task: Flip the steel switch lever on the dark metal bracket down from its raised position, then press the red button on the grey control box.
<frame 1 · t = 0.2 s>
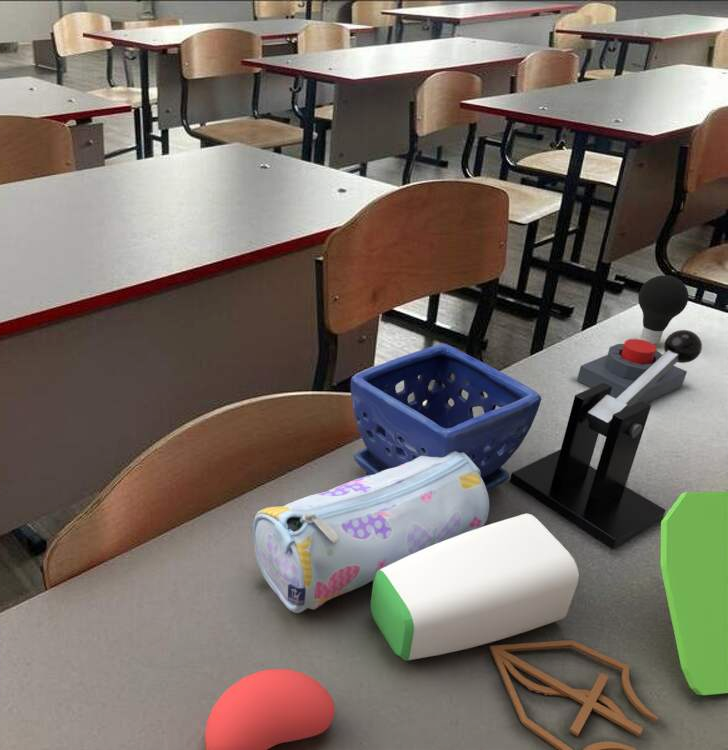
start button: (638, 351, 98), point 5 cm above the table, slide at 0.2 cm
switch lever: (646, 380, 76), point 12 cm above the table, hinge at 25.0°
control box: (629, 383, 100), on the table
light bulb: (648, 345, 109), on the table
flower pot: (428, 483, 82), on the table, touching pencil case
emblem: (566, 686, 59), point 1 cm above the table
pencil case: (365, 564, 72), on the table, touching flower pot
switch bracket: (583, 500, 80), on the table
stress ball: (267, 737, 52), point 4 cm above the table
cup: (382, 618, 62), point 3 cm above the table
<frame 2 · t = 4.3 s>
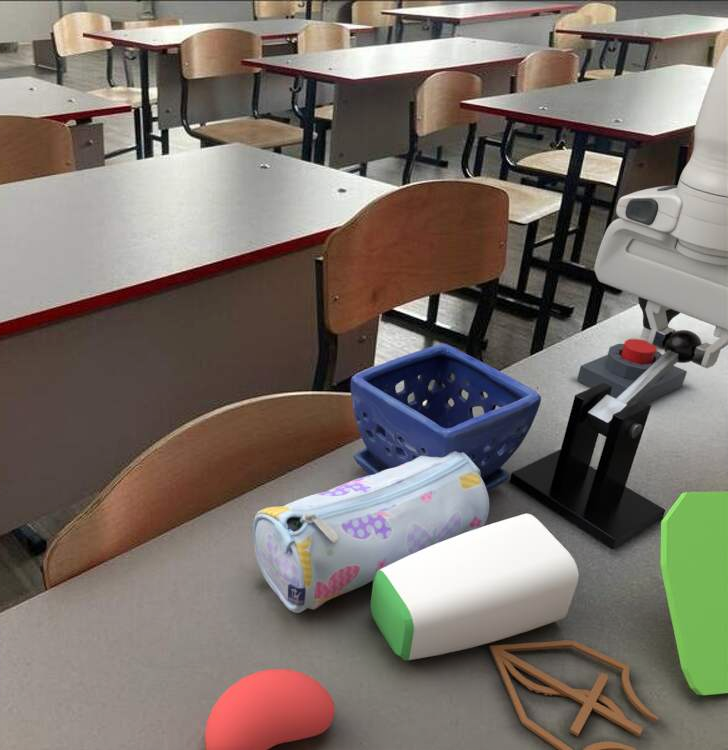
hand: (680, 354, 78), 14 cm above the table, tool pointing down, fingers closed on switch lever, 3 cm apart
switch lever: (646, 380, 76), point 12 cm above the table, hinge at 25.0°, touching gripper
everything else where it was.
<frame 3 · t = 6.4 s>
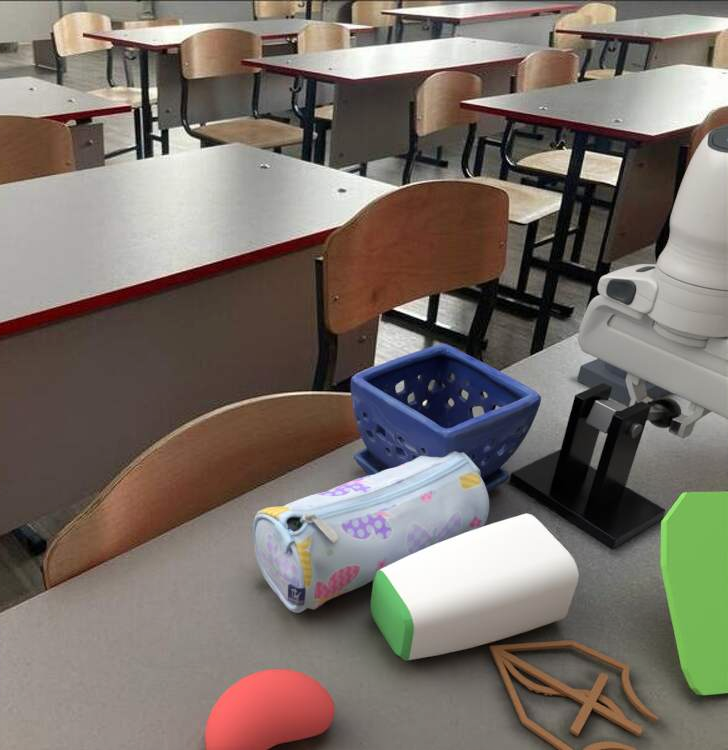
hand: (657, 423, 82), 6 cm above the table, tool pointing down, fingers closed on switch lever, 3 cm apart
switch lever: (637, 414, 78), point 8 cm above the table, hinge at -16.7°, touching gripper
everything else where it was.
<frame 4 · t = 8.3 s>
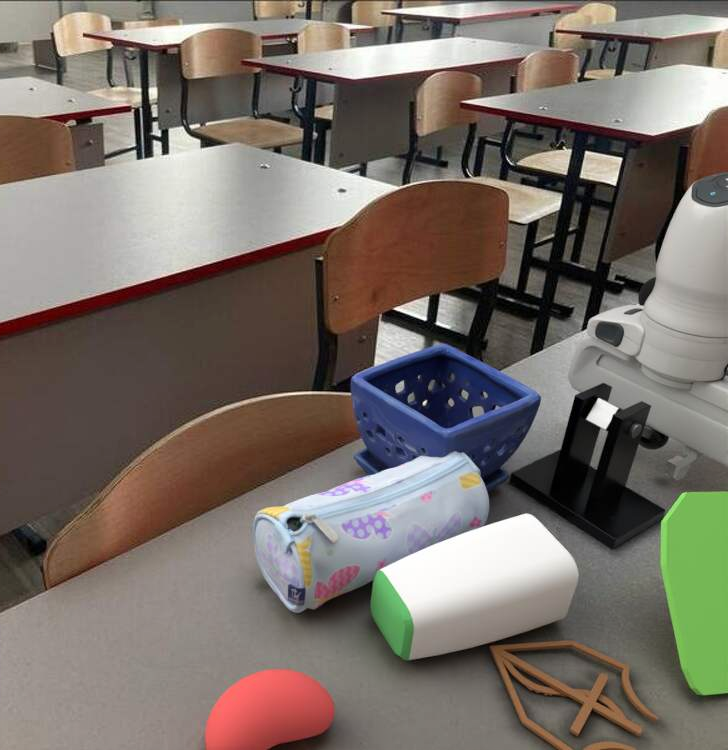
hand: (646, 460, 84), 1 cm above the table, tool pointing down, fingers open, 5 cm apart
switch lever: (631, 425, 78), point 7 cm above the table, hinge at -29.9°
everything else where it was.
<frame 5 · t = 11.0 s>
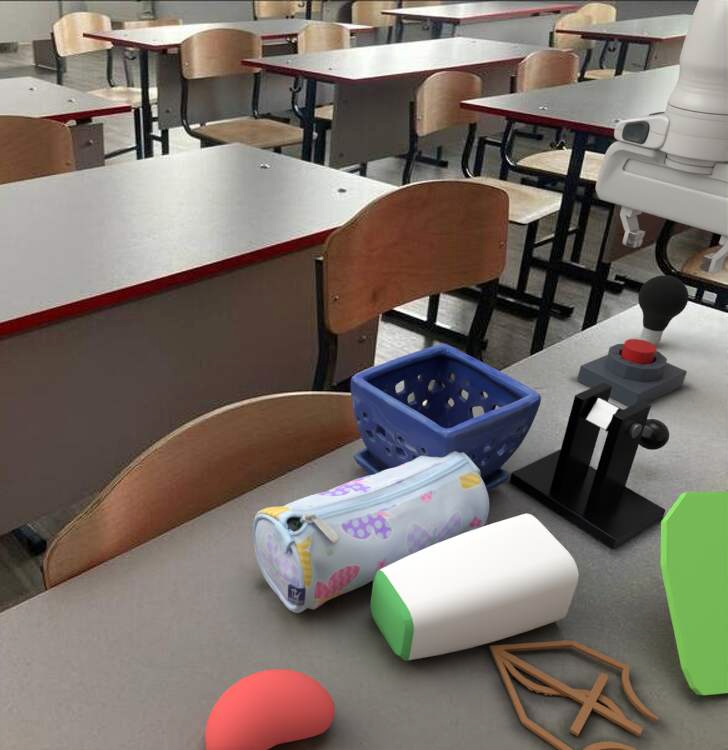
hand: (669, 257, 91), 17 cm above the table, tool pointing down, fingers open, 8 cm apart
nothing on the table moved.
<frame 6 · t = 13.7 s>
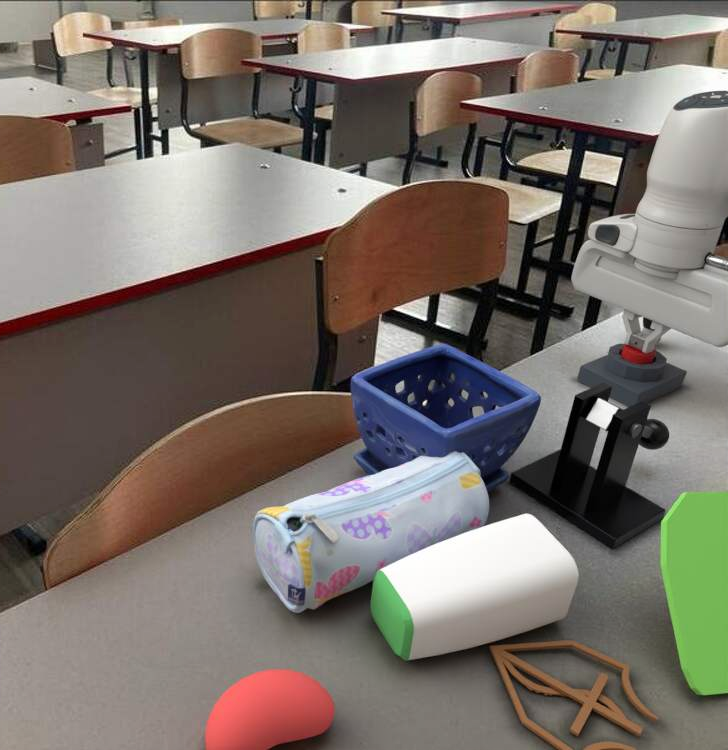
hand: (638, 348, 97), 5 cm above the table, tool pointing down, fingers closed, pressing on start button
start button: (637, 354, 98), point 4 cm above the table, slide at -0.2 cm, touching gripper
everything else where it was.
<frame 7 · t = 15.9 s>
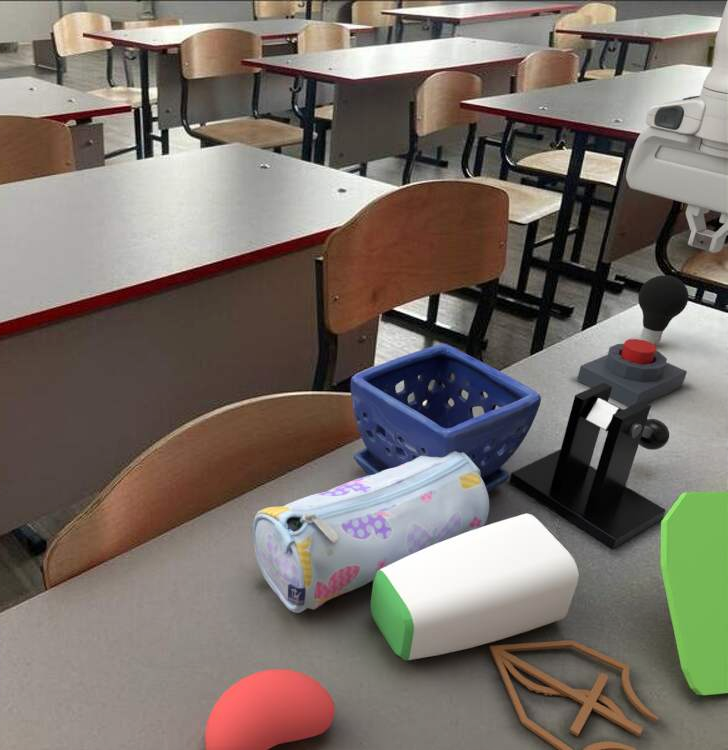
hand: (704, 248, 87), 19 cm above the table, tool pointing down, fingers closed
start button: (638, 351, 98), point 5 cm above the table, slide at 0.2 cm
everything else where it was.
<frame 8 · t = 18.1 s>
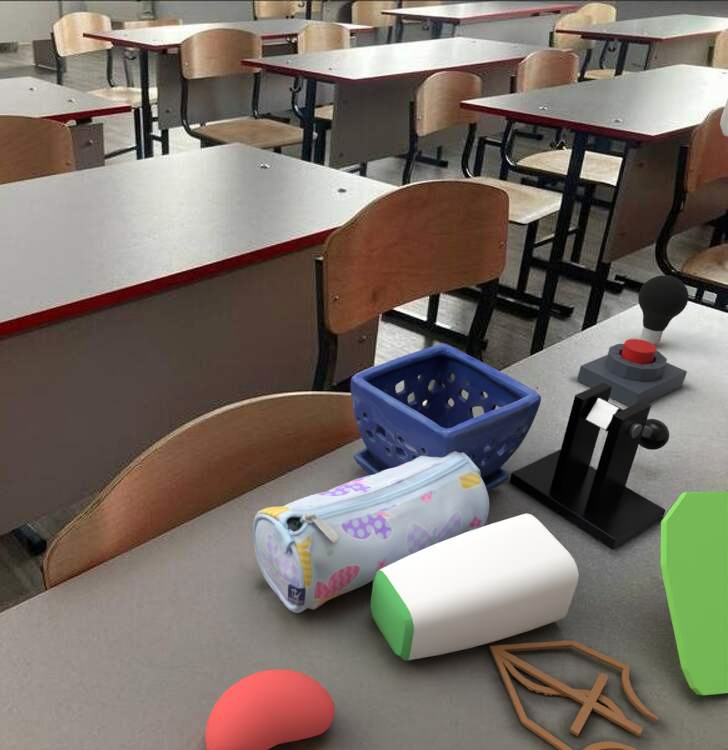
nothing on the table moved.
at the end: switch lever at -30° (first picture: +25°); start button pushed in 1.0 cm at the most during the clip, back to 0.2 cm at the end; start button slide at 0.2 cm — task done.
